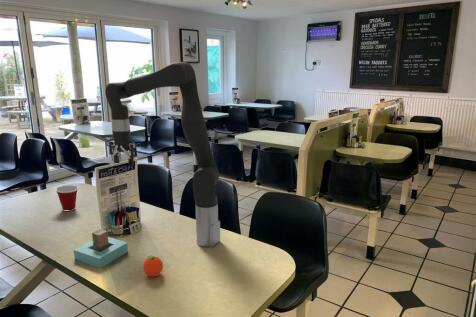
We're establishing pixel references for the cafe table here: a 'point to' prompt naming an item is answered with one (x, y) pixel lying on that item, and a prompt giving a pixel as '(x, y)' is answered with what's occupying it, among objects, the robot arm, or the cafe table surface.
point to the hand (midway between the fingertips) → (124, 165)
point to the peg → (100, 240)
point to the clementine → (152, 266)
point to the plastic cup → (67, 196)
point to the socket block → (100, 253)
